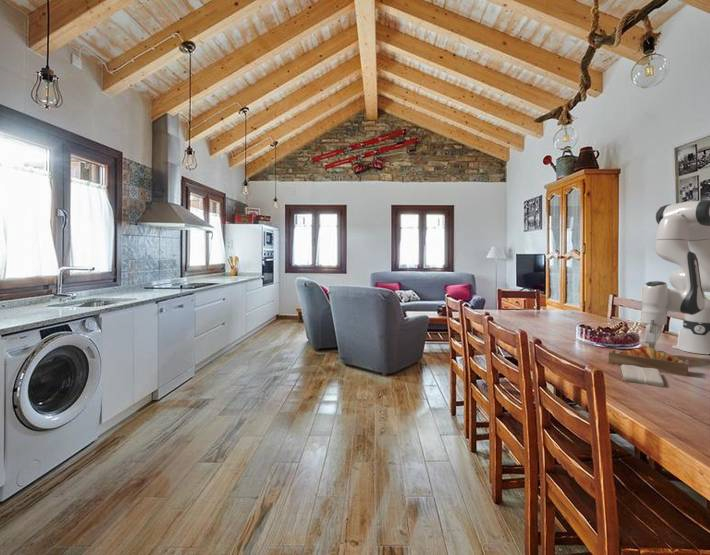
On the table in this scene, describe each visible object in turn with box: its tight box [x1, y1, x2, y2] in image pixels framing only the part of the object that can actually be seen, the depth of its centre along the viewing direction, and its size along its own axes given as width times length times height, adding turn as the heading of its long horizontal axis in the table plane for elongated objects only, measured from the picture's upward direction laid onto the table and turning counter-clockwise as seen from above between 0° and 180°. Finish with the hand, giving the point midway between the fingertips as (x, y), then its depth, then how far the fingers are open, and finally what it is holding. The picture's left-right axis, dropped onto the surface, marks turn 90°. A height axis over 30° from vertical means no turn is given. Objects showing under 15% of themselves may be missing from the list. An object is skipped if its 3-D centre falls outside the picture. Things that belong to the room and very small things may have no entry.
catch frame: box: [608, 348, 690, 377], centre depth 152 cm, size 8×24×4 cm, turn 47°
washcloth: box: [620, 365, 665, 387], centre depth 139 cm, size 12×18×3 cm, turn 148°
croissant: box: [618, 345, 684, 363], centre depth 159 cm, size 21×10×8 cm, turn 56°
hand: (652, 350), depth 165 cm, fingers closed
